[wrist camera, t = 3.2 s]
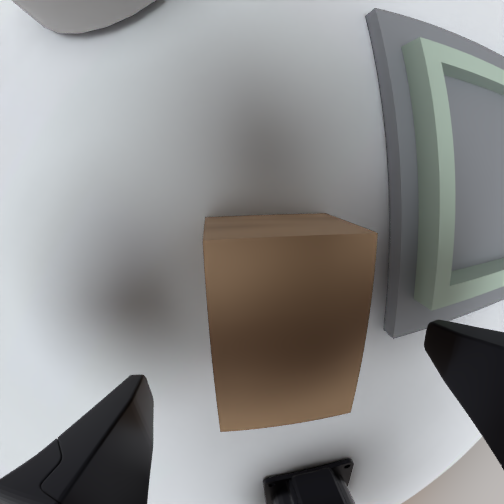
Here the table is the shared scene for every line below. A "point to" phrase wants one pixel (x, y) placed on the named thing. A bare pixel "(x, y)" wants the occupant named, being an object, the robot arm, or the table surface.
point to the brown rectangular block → (286, 315)
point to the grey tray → (440, 170)
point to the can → (80, 13)
